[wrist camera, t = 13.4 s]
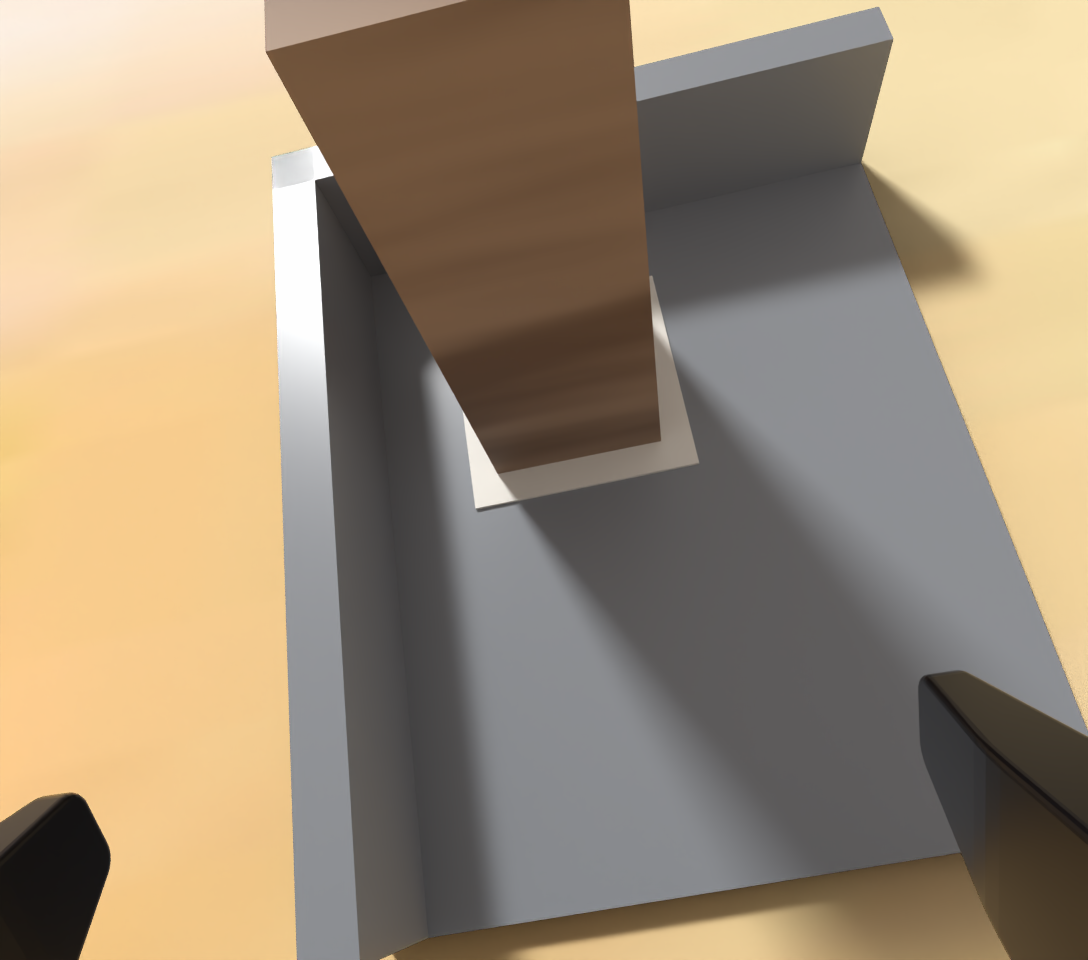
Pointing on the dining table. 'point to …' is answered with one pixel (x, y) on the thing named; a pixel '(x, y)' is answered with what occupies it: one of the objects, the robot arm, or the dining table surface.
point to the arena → (639, 549)
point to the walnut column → (495, 200)
